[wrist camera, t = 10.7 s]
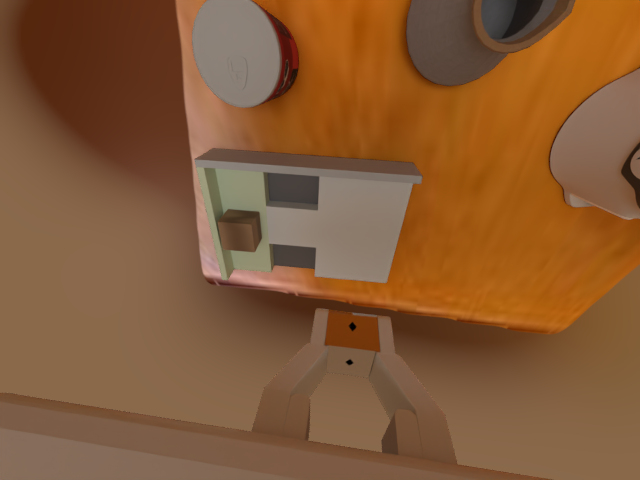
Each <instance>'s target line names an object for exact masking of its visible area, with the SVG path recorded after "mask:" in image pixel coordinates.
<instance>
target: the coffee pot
mask: <svg viewBox="0 0 640 480" xmlns="http://www.w3.org/2000/svg"><path fill="white" fill-rule="evenodd" d="M574 3H575V0H412V1H411V5H410V9H409V12H408V16H407V29H406V38H407V45H408V52H409V54H410V57H411V59H412V61H413V64H414V66H415V67H416V68H417V70H418V71H419V72H420V73H421V74H422V75H423V77H425V78H427V79H428V80H430V81H432V82H433V83H435V84H440V85H445V86H453V85H462V84H465V83H468V82H470V81H473V80H476V79H478V78H480V77H481V76H483V75H484V74H486V73H487V72H489V71H490V70H492V69H493V68H494V67H495V66H496V65H497V64H498V63H499V62H500V61H501V60H502V59H504V58H505V57H506V56H507V54H508V53H514V52H517V51H520V50H523V49H525V48H528V47H530V46H531V45H533V44H534V43H536V42H537V41H539V40H540V39H542V38H543V37H544V36H546V35H547V34H548V33H549V32H550V31H552V30H553V29H554V28H555V27H557V26H558V25H559V24H560V23H561V22H562V21H563V20H564V19H565V18H566V17H567V16H568V15H569V14H570V13H571V11H572V9H573V6H574Z"/></svg>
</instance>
